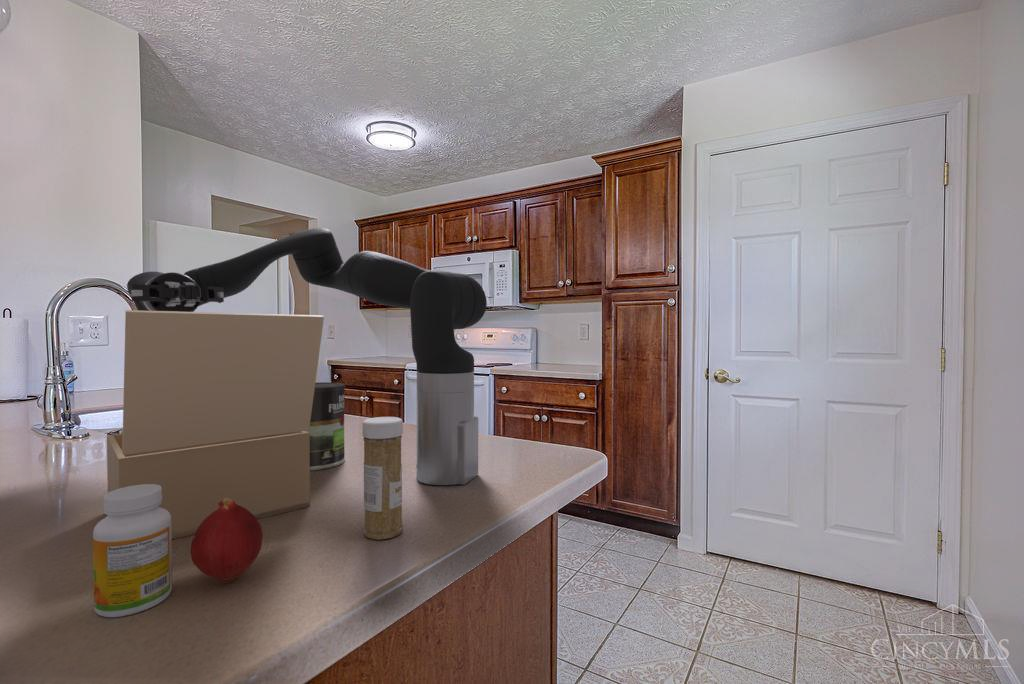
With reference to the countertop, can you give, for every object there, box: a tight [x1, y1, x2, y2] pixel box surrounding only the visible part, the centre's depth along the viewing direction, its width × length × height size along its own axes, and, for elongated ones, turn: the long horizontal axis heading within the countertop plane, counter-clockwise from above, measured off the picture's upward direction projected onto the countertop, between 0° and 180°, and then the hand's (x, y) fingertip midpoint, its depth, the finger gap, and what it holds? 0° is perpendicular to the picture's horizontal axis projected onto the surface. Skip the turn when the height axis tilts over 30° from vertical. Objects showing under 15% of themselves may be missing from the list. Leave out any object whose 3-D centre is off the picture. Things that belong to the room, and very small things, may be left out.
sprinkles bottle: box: [362, 416, 404, 541], centre depth 57 cm, size 5×5×14 cm
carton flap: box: [122, 309, 325, 455], centre depth 56 cm, size 16×19×1 cm
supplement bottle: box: [92, 484, 173, 618], centre depth 42 cm, size 5×5×10 cm
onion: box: [190, 498, 264, 584], centre depth 46 cm, size 6×6×8 cm
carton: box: [106, 431, 311, 541], centre depth 64 cm, size 16×20×10 cm
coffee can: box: [305, 381, 346, 471], centre depth 87 cm, size 10×10×14 cm
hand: (191, 292), depth 71 cm, fingers closed
